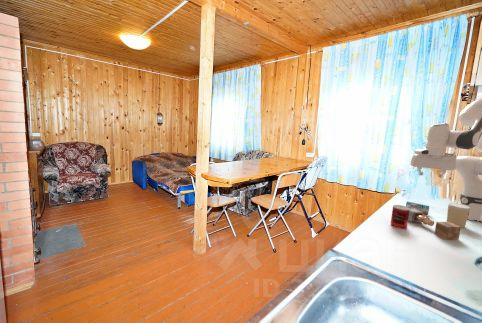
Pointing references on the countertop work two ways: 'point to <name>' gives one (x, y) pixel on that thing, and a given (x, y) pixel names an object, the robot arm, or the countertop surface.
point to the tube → (424, 220)
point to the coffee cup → (457, 214)
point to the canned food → (400, 216)
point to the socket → (447, 230)
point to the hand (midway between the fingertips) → (430, 176)
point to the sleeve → (412, 214)
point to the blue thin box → (418, 207)
